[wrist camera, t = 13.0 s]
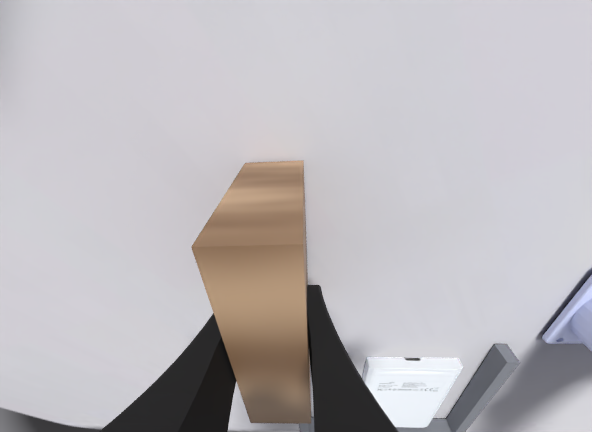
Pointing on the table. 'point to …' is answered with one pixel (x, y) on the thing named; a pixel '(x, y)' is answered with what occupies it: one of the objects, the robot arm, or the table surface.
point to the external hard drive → (410, 386)
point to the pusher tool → (262, 288)
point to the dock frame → (468, 394)
